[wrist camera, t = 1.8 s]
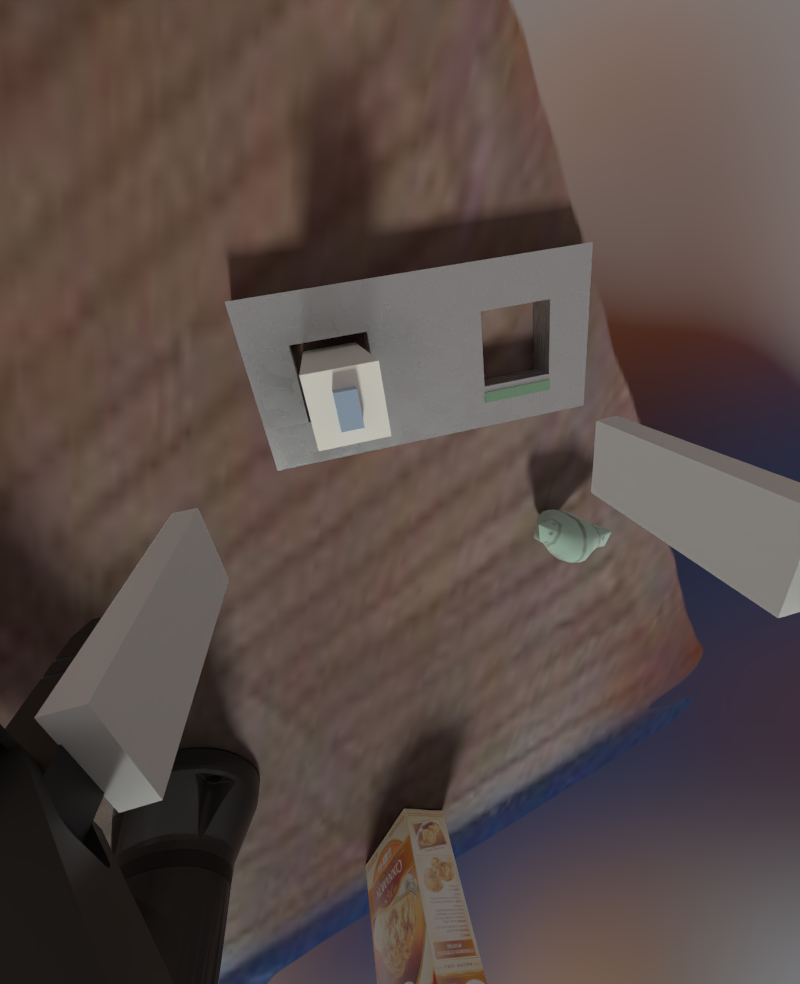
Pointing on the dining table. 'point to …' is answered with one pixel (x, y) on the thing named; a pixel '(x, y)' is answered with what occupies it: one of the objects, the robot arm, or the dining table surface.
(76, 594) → the dining table surface
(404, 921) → the coffeecake box
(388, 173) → the dining table surface
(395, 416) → the panel
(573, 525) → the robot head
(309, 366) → the plug
